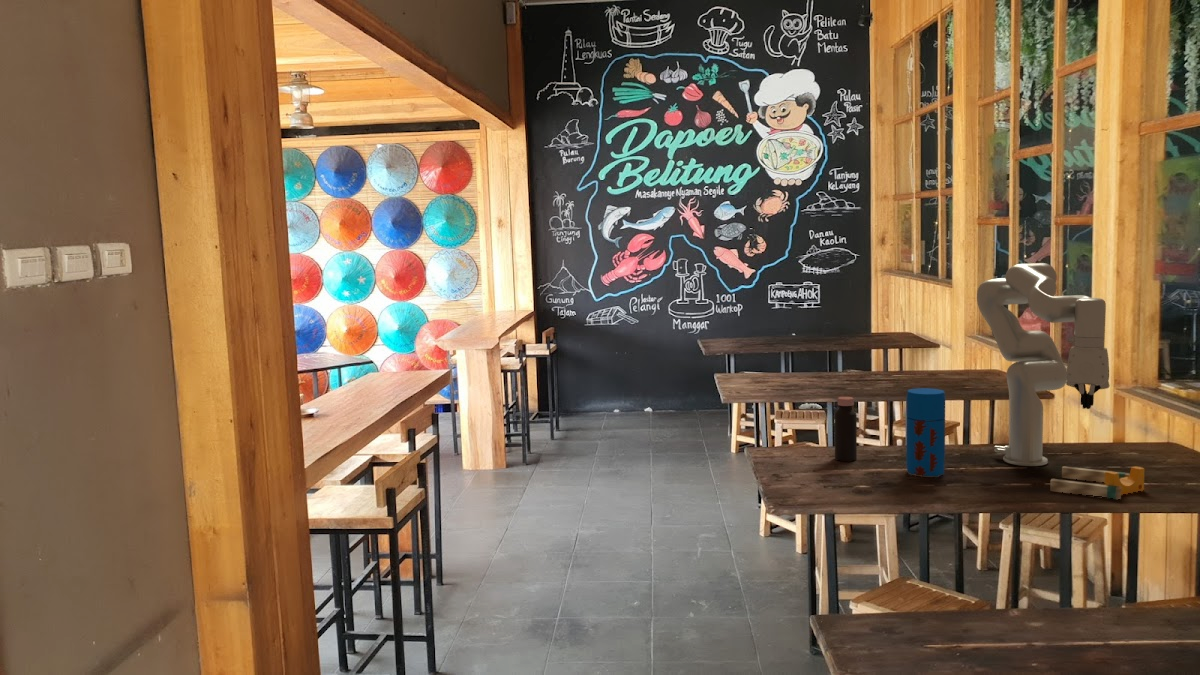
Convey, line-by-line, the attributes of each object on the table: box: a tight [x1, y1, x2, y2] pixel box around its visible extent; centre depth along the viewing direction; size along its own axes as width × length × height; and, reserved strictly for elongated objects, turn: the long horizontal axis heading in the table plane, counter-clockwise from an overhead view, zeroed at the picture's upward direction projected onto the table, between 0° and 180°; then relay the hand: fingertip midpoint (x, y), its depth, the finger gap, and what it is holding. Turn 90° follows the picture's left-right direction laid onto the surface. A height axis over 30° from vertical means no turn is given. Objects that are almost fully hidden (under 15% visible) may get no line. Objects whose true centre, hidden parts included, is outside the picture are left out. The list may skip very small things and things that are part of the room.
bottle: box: [834, 396, 858, 462], centre depth 302 cm, size 7×7×20 cm
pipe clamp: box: [1104, 466, 1146, 496], centre depth 257 cm, size 12×4×6 cm, turn 113°
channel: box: [1049, 465, 1130, 500], centre depth 263 cm, size 17×18×3 cm
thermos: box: [906, 387, 946, 476], centre depth 282 cm, size 11×11×25 cm
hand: (1086, 407), depth 263 cm, fingers closed
